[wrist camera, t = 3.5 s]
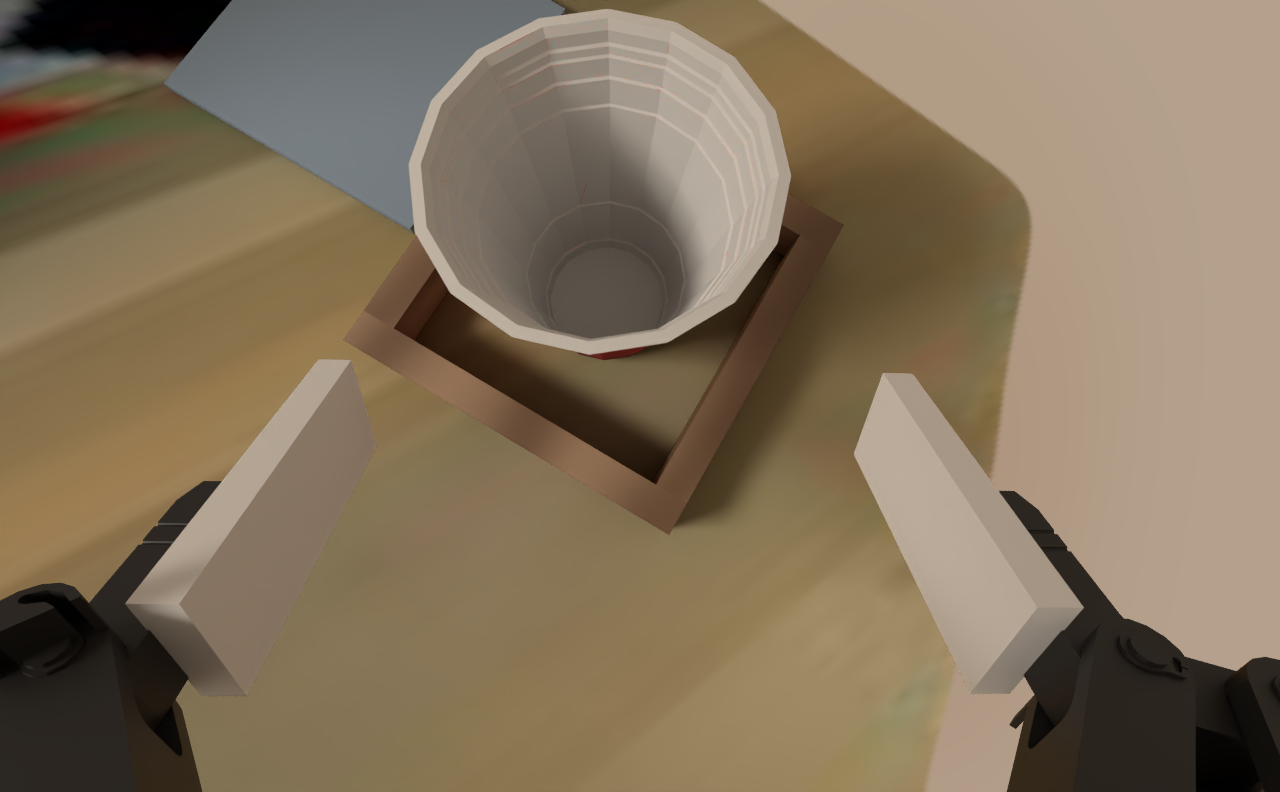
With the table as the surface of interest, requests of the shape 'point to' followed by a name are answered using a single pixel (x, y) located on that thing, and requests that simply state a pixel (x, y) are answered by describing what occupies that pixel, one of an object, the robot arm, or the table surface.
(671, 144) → the plastic cup
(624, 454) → the table surface
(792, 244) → the wooden frame
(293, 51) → the coaster
